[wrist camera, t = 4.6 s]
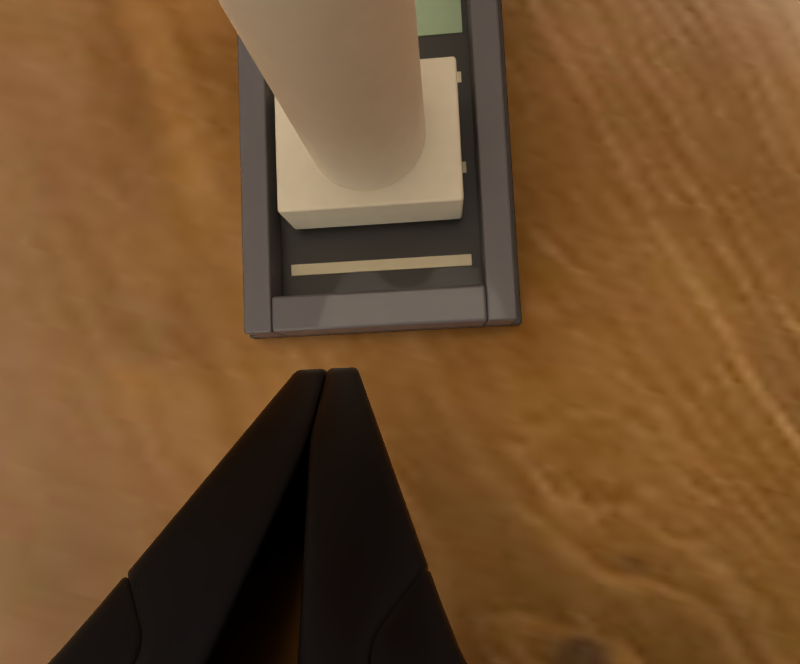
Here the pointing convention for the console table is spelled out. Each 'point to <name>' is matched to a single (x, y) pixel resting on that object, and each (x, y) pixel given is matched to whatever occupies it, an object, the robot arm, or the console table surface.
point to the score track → (395, 242)
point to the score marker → (355, 111)
